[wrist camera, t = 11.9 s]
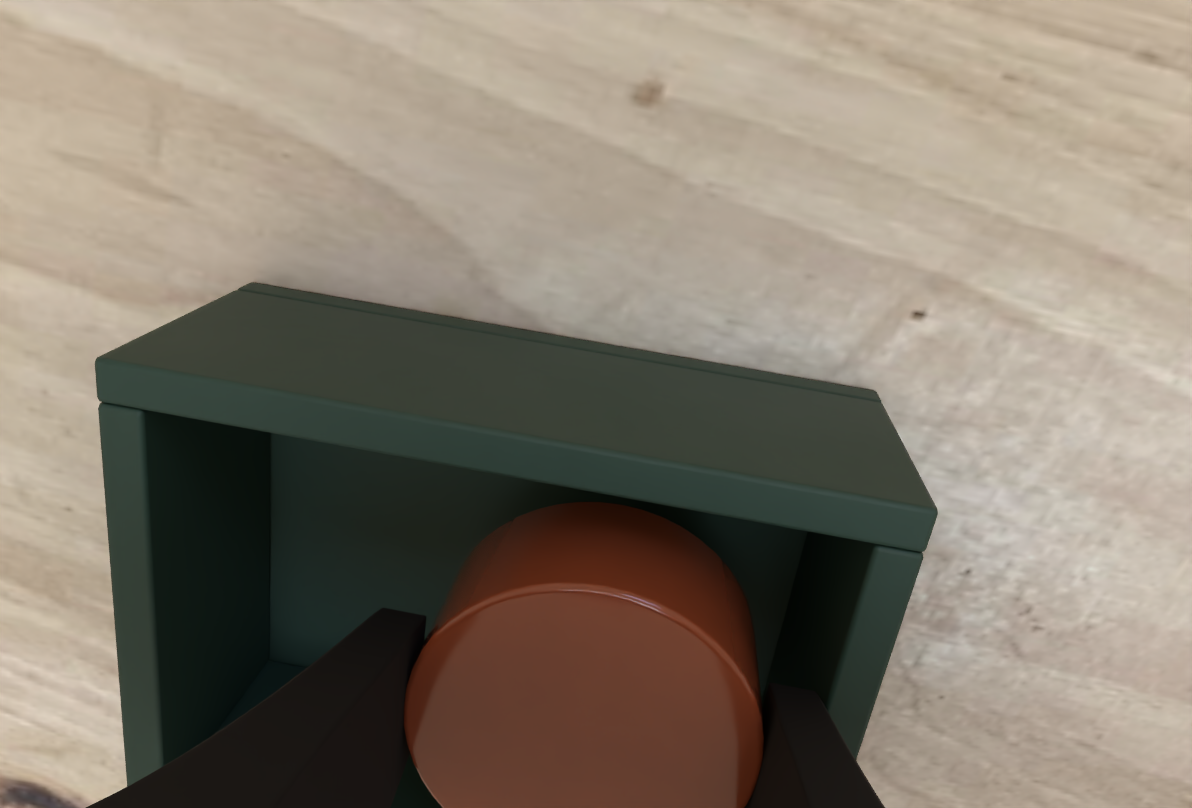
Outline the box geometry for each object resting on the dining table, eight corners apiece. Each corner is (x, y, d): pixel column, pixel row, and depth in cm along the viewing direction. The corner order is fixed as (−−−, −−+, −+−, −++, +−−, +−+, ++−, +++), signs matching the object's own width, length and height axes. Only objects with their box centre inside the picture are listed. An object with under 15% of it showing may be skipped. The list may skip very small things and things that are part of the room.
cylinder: (721, 784, 14) (724, 909, 12) (436, 727, 14) (390, 840, 12) (787, 531, 12) (804, 627, 10) (460, 471, 12) (412, 552, 10)
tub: (770, 764, 17) (789, 965, 13) (252, 661, 17) (128, 827, 13) (877, 389, 14) (941, 510, 10) (250, 281, 14) (91, 356, 11)
